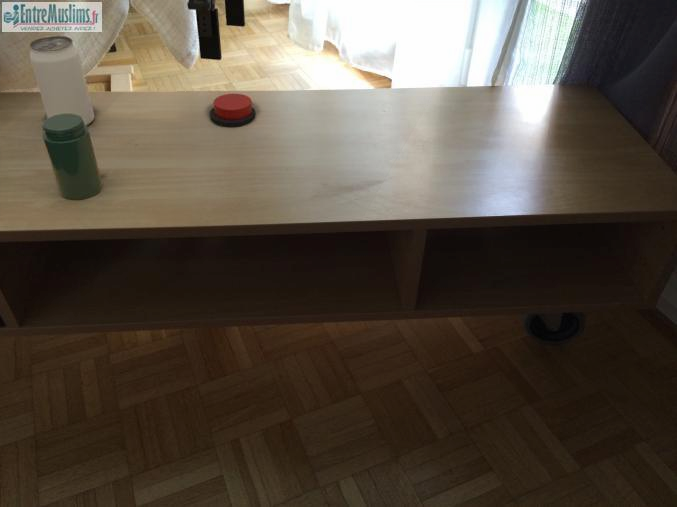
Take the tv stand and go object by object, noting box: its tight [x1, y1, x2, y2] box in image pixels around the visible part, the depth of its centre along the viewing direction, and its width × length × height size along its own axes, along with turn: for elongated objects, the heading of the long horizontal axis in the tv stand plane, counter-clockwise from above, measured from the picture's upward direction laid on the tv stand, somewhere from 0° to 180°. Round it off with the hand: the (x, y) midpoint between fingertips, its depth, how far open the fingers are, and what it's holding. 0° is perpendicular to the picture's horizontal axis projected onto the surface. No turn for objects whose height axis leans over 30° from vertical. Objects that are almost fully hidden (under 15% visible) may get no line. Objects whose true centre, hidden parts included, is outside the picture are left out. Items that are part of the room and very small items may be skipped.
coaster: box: [209, 106, 256, 128], centre depth 95 cm, size 7×7×1 cm
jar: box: [42, 114, 103, 201], centre depth 75 cm, size 5×5×9 cm
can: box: [29, 35, 95, 127], centre depth 89 cm, size 6×6×12 cm
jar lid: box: [213, 93, 253, 120], centre depth 94 cm, size 6×6×2 cm
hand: (224, 41), depth 88 cm, fingers open, 13 cm apart
